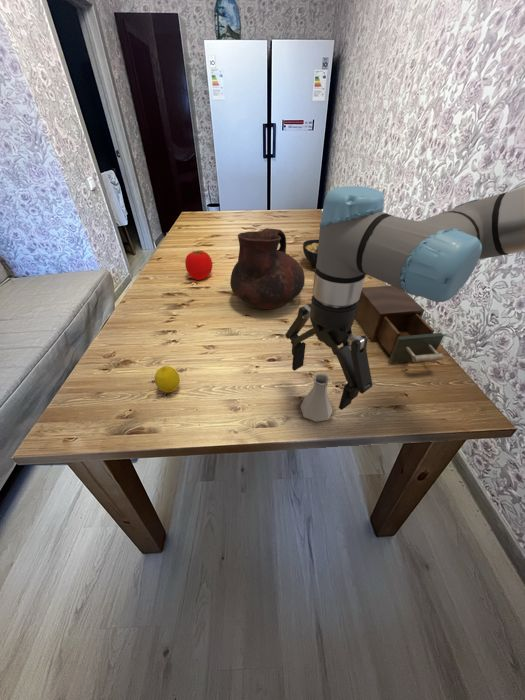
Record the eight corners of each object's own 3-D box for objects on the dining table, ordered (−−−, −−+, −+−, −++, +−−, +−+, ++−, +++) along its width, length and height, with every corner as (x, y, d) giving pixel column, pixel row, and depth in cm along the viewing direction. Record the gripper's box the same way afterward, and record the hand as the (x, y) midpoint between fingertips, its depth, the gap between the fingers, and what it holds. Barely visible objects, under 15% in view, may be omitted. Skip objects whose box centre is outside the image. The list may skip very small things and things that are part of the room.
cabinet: (413, 338, 84) (424, 310, 78) (371, 342, 83) (380, 313, 77) (389, 311, 95) (398, 284, 89) (353, 314, 94) (359, 287, 88)
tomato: (183, 281, 114) (177, 255, 107) (194, 270, 122) (189, 245, 115) (207, 284, 112) (203, 257, 105) (217, 272, 120) (213, 247, 113)
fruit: (173, 378, 73) (166, 355, 68) (187, 389, 70) (180, 365, 65) (154, 391, 70) (145, 368, 64) (168, 402, 67) (160, 379, 62)
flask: (300, 395, 68) (304, 365, 61) (331, 398, 67) (338, 368, 61) (299, 420, 62) (303, 390, 56) (333, 424, 62) (340, 393, 55)
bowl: (303, 256, 132) (305, 234, 125) (341, 258, 129) (344, 236, 123) (299, 272, 119) (301, 248, 113) (341, 275, 116) (345, 251, 110)
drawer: (443, 372, 72) (457, 348, 67) (400, 376, 71) (410, 352, 66) (406, 329, 86) (415, 306, 81) (369, 332, 85) (376, 310, 80)
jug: (315, 296, 104) (323, 224, 88) (276, 329, 88) (278, 250, 72) (260, 278, 115) (258, 212, 99) (217, 305, 100) (208, 232, 84)
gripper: (420, 323, 40) (381, 414, 54) (299, 265, 55) (293, 347, 69) (389, 344, 37) (355, 436, 51) (269, 275, 52) (269, 360, 66)
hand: (319, 385), depth 60 cm, fingers open, 13 cm apart
